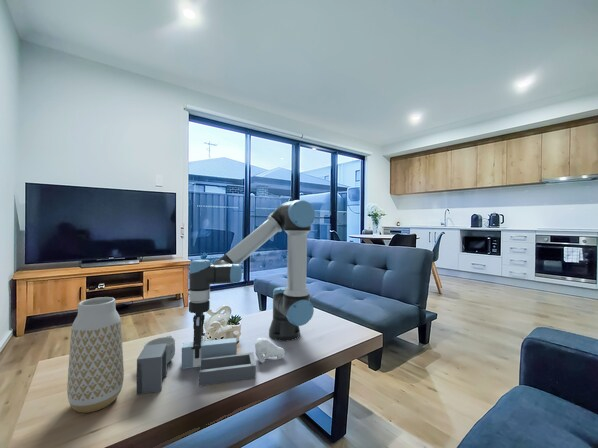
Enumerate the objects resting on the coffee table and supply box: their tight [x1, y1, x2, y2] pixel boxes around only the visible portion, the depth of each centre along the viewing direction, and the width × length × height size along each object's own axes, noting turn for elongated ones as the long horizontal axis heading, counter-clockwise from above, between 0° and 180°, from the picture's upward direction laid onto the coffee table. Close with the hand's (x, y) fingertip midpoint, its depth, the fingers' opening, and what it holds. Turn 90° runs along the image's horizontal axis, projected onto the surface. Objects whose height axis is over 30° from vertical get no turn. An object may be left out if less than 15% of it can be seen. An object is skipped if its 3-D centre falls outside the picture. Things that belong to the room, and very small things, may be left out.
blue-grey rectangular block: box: [181, 337, 238, 369], centre depth 108 cm, size 20×4×8 cm, turn 106°
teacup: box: [143, 334, 176, 364], centre depth 109 cm, size 14×11×8 cm
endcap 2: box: [198, 351, 257, 387], centre depth 100 cm, size 19×10×4 cm, turn 106°
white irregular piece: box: [254, 337, 285, 364], centre depth 111 cm, size 6×8×12 cm
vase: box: [66, 296, 125, 414], centre depth 83 cm, size 14×14×31 cm
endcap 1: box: [136, 343, 168, 395], centre depth 93 cm, size 7×10×11 cm
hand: (198, 359), depth 105 cm, fingers open, 10 cm apart
